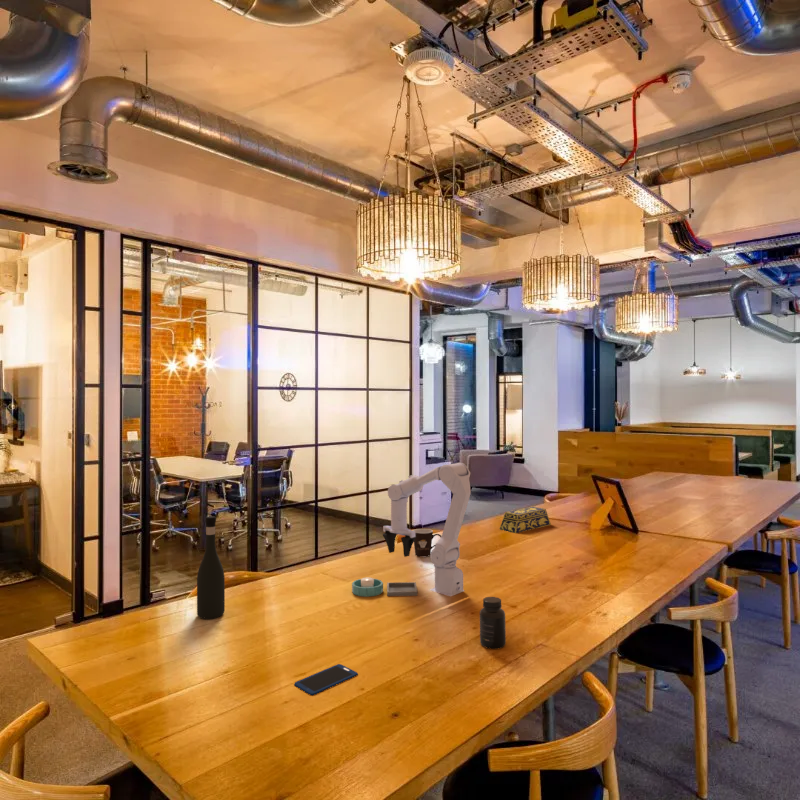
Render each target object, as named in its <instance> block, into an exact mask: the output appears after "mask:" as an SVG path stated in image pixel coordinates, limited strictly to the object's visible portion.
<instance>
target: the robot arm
mask: <svg viewBox="0 0 800 800" xmlns="http://www.w3.org/2000/svg"><path fill="white" fill-rule="evenodd" d="M470 476H471V471H470V470H469V468H468V466H467V464H466V463H463V462H455V463H451V464H443V465H442V466H437V467H435V468H432V469H431V470H429V471H427V472H426V473H423V474H422V475H420V476H419V475H413V474H411V475H409V476H408V478H406V479H401V480H399V482H398V483H394V484H393V483H392V484H391V485H389V487H388V488H387V496H388V498H389V499H390V525H383V527H382V528H383V529H382V530H383V531H382V532H385V533H382V536H383V538H384V540H385V543H386V546H387V549H388V550H387V551H388V553H391V554H392V553H394V552H395V547H396V538H397V535H401V536H402V537H400V540H401V543H402V547H403V556H404V558H407V557H410V554H411V550H412V546H413V545H414V540H415V539H416V537H415V531H413V530H411V529H410V528H408V524H407V523H408V520H407V519H408V515H407V514H408V513H407V512H408V510H407V509H408V507H407V506H408V500H409V497H410V496H411V495H414V494H416V493H418V492H421V491H422V490H423V488H424V486H425V485H427V484H429V483H432V482H434V481H441V482H442V483H443V484H444V485H445V486H446V487H447V489H448V490H449V491H450V492H451V493H452V498H451V502H450V505H449V509H448V511H447V512H448V513H447V516H446V520H445V524H444V527H443V530H442V533H441V534H442V535H441V538H438V541H436V543H435V544H436V546H435V547H433V548H432V549H431V553H430V561H431V563H432V564H433V567H434V587H433V588H430V589H429V591H432V592H434V593H439V594H441V595H445V596H447V597H452V596H453V597H454V596H455V595H458V594H460V593H463V592H465V590H464V573H463V571H462V569H461V568H458V566H457V560H459V558H460V553H461V552H460V547H461V543H460V542H459V541H458V539H459V535H460V532H461V529H462V525H463V521H464V518H465V514H466V511H467V507H468V504H469V500H470V497H471V493H472V492H471V491H472V490H471V483H470Z"/></svg>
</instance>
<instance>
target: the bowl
mask: <svg viewBox="0 0 800 800" xmlns="http://www.w3.org/2000/svg"><path fill="white" fill-rule="evenodd" d="M361 579H362V578H359V579H356V580H354V581H353V582H352V583H351V592H352V594H353V595H354V596H357V597H367V598H368V597H376V596H379V595H381V594H382V593H383V592H384V582H383V581H382V579H381V580H380V579H377V578H373V579H374V587H368V588H366V587H361Z"/></svg>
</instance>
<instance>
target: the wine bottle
mask: <svg viewBox="0 0 800 800" xmlns="http://www.w3.org/2000/svg"><path fill="white" fill-rule="evenodd" d="M216 521H217V517H216V516H213V515H210V516H206V517H205V534H206V535H205V538H206V539H205V540H206V543H205V545H206V546H205V551H204V553H203V558H202V559H201V563H200V565H199V568H198V571H197V576H196V577H197V578H196V614H197V616H198V618H200V619H203V620H212V619H216V618H219V617H221V616H222V615H223V614H224V613H225V607H226V606H225V604H226V603H225V602H226V601H225V594H226V593H225V586H226V585H225V581H226V580H225V579H226V577H225V572H224V571H225V570H224V567H223V564H222V562H221V560H220V557H219V554H218V552H217V548H216V523H217V522H216Z"/></svg>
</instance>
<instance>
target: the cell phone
mask: <svg viewBox="0 0 800 800" xmlns="http://www.w3.org/2000/svg"><path fill="white" fill-rule="evenodd" d="M356 675H357V676H359V673H358V672H357V671H355V670H354V669H351V668H350V667H347V666H345V665H344V664H341V663H337V664H334V665H333V666H330V667H328V668H325V669H323V670H321V671H318V672H316V673H314V674H311V675H309V676H307V677H306V676H305V678H301V679H300V680H297V681H295V682H294V684H293V685H294V686H295V687H296V688H297V687H298V688H297V689H299V688H300V691H302V690H303V691H302V692H304V691H305V692H304V693H305V694H307V693H308V694H307V695H309V694H310V695H309V696H315V695H317V693H318V694H319V692H320V693H322V692H324V690H325V691H326V689H327V690H329V689H331V688H333V687H335V685H336V684H338V685H340V684H342V683H344V682H346V681H345V680H347V681H349V680H351V679H353V678H355V677H357V676H356ZM354 676H355V677H354ZM352 677H353V678H352ZM350 678H351V679H350ZM348 679H349V680H348ZM343 681H344V682H343ZM341 682H342V683H341ZM339 683H340V684H339ZM332 686H333V687H332ZM336 686H337V685H336ZM330 687H331V688H330ZM328 688H329V689H328ZM314 694H315V695H314Z"/></svg>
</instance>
